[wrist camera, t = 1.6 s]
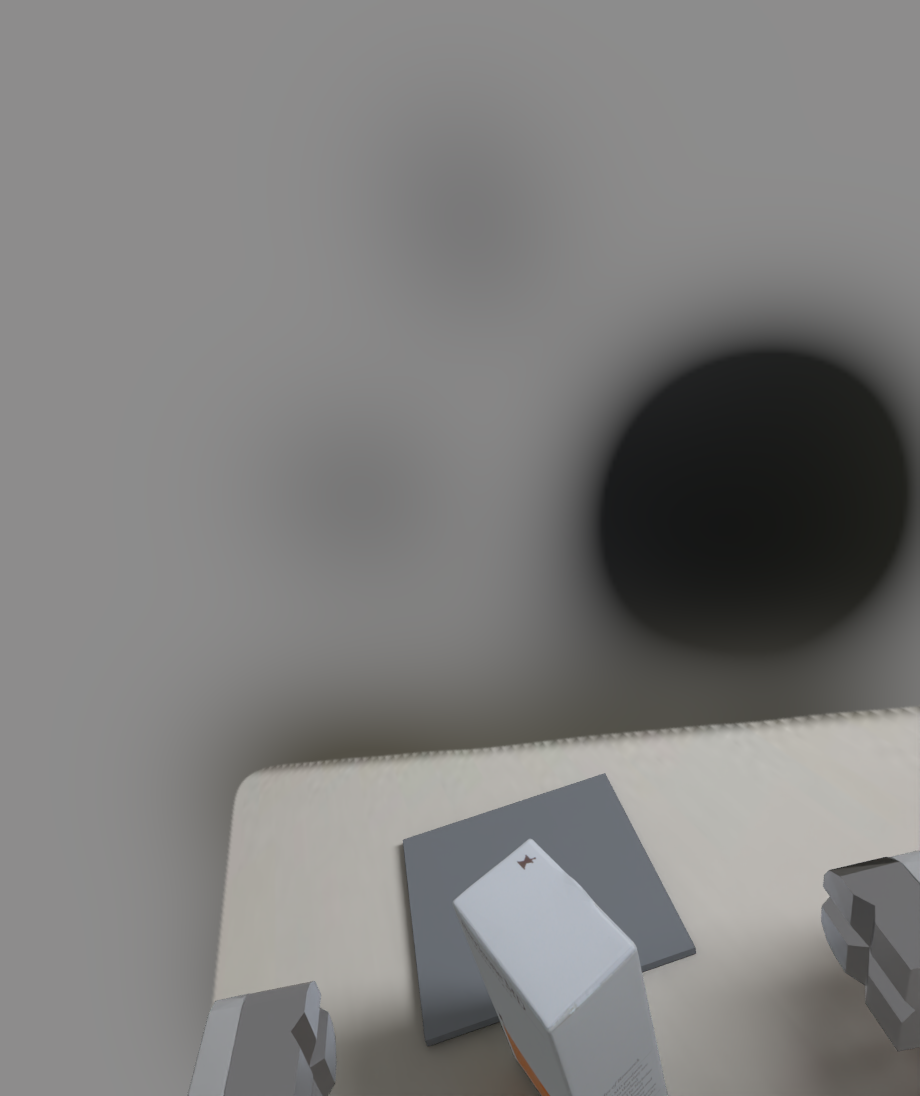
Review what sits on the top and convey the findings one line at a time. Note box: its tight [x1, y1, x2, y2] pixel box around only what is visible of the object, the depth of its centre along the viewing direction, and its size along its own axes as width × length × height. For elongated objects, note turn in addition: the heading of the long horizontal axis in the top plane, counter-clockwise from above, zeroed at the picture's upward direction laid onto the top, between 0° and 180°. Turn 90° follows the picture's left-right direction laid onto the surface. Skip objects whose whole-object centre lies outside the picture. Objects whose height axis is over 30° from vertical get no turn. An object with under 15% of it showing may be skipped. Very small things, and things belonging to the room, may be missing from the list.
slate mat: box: [403, 773, 696, 1046], centre depth 37 cm, size 14×12×1 cm
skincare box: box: [452, 839, 668, 1096], centre depth 26 cm, size 6×4×12 cm
